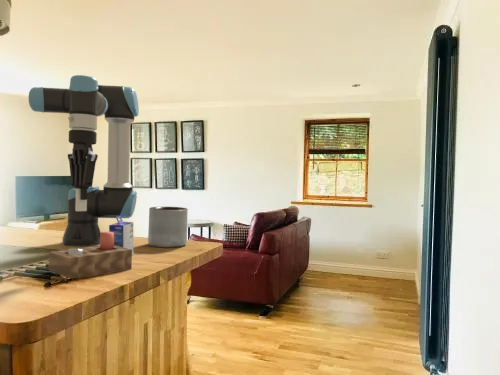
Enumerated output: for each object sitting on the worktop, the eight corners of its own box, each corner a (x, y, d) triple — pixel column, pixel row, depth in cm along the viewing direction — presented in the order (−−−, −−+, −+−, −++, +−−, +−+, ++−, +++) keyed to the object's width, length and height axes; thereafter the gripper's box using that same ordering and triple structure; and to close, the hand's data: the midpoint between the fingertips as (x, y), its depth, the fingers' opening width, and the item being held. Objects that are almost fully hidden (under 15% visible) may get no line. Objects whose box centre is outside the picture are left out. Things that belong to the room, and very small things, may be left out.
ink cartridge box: (118, 254, 147) (120, 214, 147) (133, 255, 147) (135, 215, 147) (107, 260, 137) (108, 217, 137) (123, 261, 137) (124, 218, 137)
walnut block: (69, 280, 111) (69, 258, 111) (48, 272, 119) (48, 251, 118) (131, 268, 127) (132, 249, 127) (109, 262, 134) (110, 244, 134)
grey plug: (65, 267, 118) (65, 249, 118) (78, 265, 122) (79, 247, 121) (72, 270, 116) (72, 251, 116) (85, 268, 119) (86, 249, 119)
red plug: (97, 250, 126) (97, 232, 126) (108, 248, 129) (109, 231, 129) (104, 252, 124) (104, 234, 123) (116, 250, 127) (116, 232, 127)
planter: (140, 243, 172) (142, 207, 171) (173, 240, 182) (174, 206, 182) (160, 249, 160) (161, 210, 159) (194, 246, 171) (195, 209, 170)
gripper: (59, 129, 120) (57, 209, 121) (82, 127, 112) (80, 213, 112) (83, 132, 126) (81, 208, 126) (106, 130, 117) (104, 212, 118)
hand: (81, 210), depth 119 cm, fingers closed
